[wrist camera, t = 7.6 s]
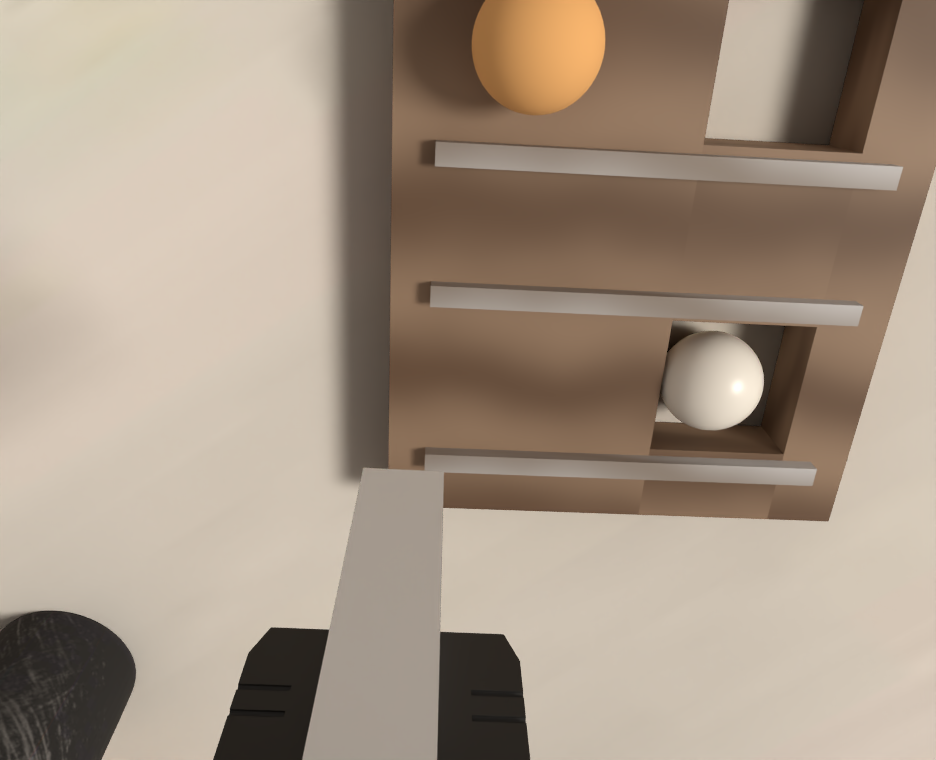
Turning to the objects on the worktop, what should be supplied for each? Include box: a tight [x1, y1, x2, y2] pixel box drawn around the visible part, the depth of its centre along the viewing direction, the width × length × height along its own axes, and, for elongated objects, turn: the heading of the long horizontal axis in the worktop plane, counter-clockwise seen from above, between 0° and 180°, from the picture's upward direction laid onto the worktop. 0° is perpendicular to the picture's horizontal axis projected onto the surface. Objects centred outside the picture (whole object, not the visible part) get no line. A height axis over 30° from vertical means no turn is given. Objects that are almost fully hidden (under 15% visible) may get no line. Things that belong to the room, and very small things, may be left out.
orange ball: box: [472, 0, 605, 115], centre depth 22 cm, size 4×4×4 cm
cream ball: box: [660, 331, 764, 430], centre depth 30 cm, size 4×4×4 cm
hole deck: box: [388, 0, 936, 521], centre depth 28 cm, size 24×19×3 cm
